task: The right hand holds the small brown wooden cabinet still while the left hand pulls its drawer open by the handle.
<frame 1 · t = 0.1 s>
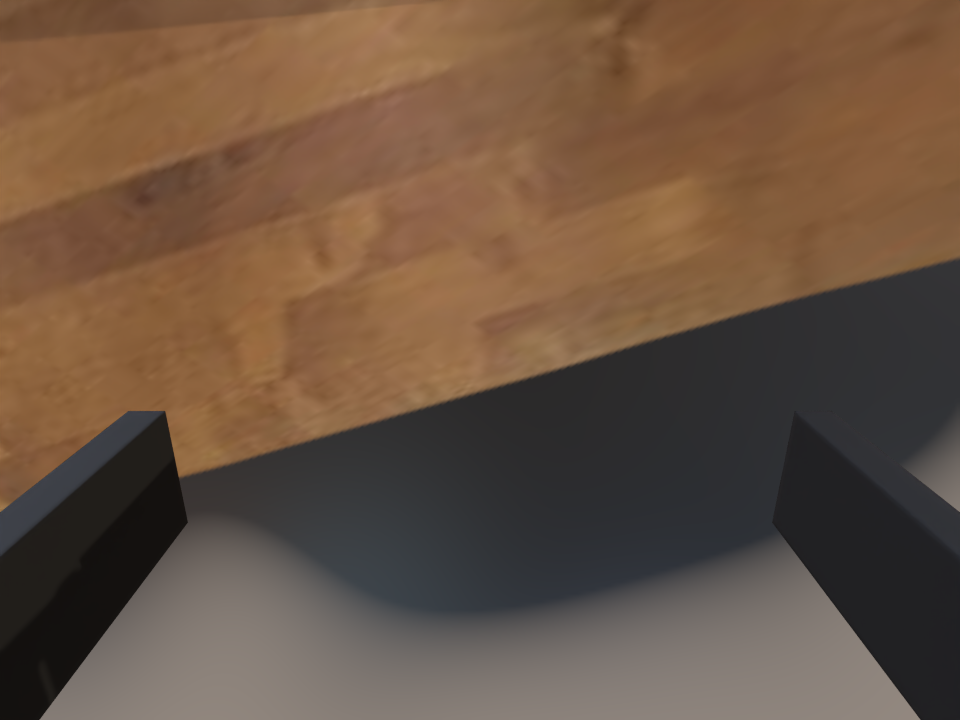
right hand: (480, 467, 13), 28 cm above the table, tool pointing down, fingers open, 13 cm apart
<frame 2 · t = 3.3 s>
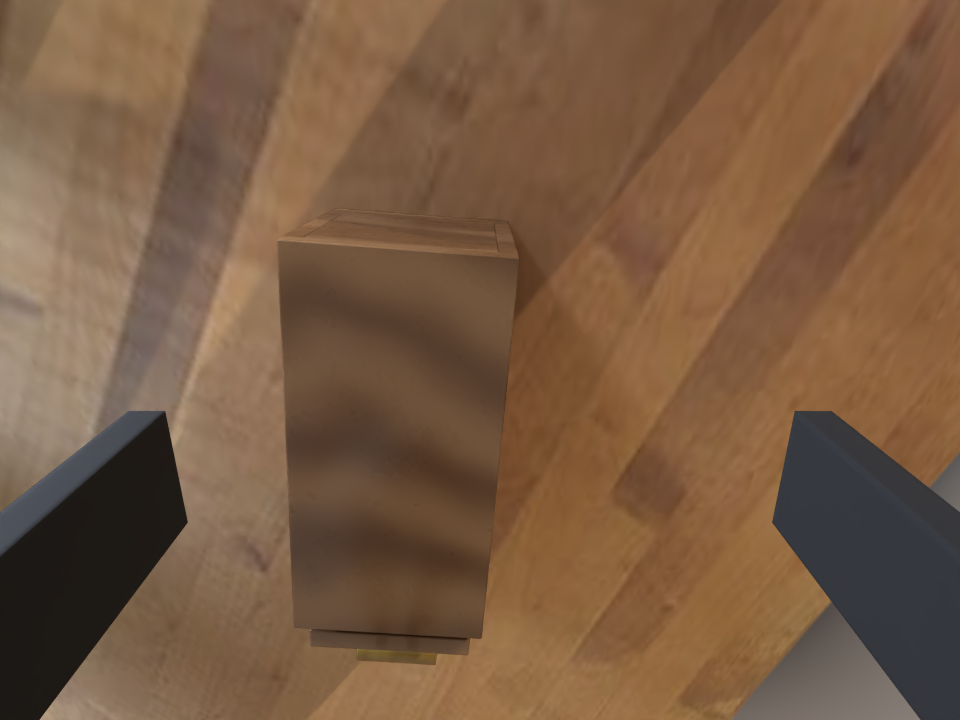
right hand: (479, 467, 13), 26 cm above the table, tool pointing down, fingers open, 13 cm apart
cabinet: (415, 379, 40), on the table
drawer: (402, 500, 37), point 6 cm above the table, slide at 1.1 cm
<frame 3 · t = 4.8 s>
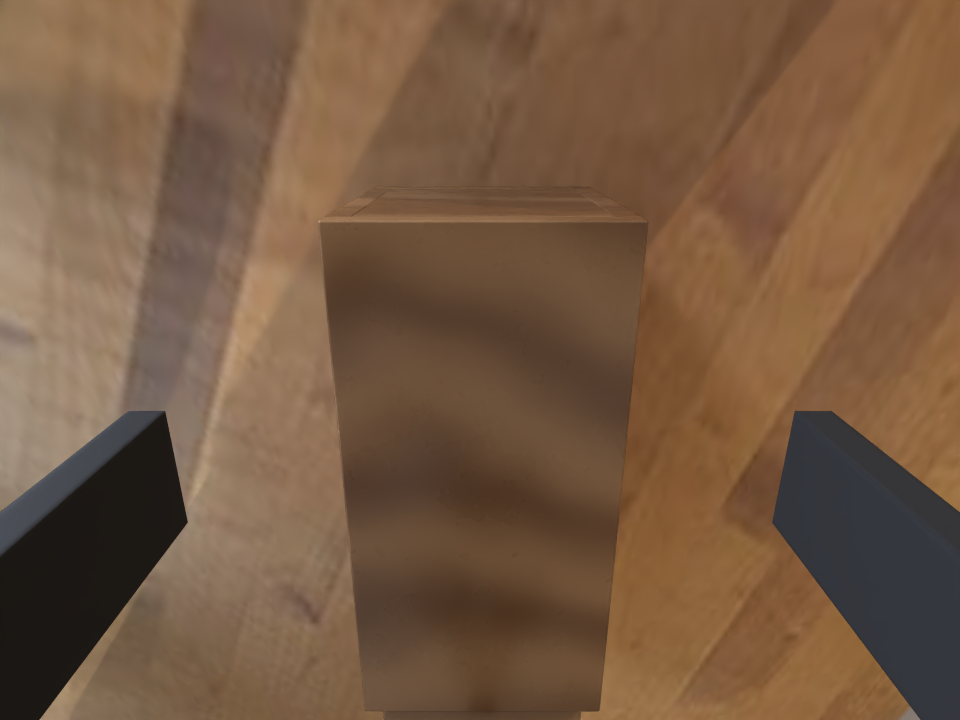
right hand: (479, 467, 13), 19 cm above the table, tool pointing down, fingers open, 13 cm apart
cabinet: (482, 390, 33), on the table
drawer: (482, 540, 30), point 6 cm above the table, slide at 1.1 cm
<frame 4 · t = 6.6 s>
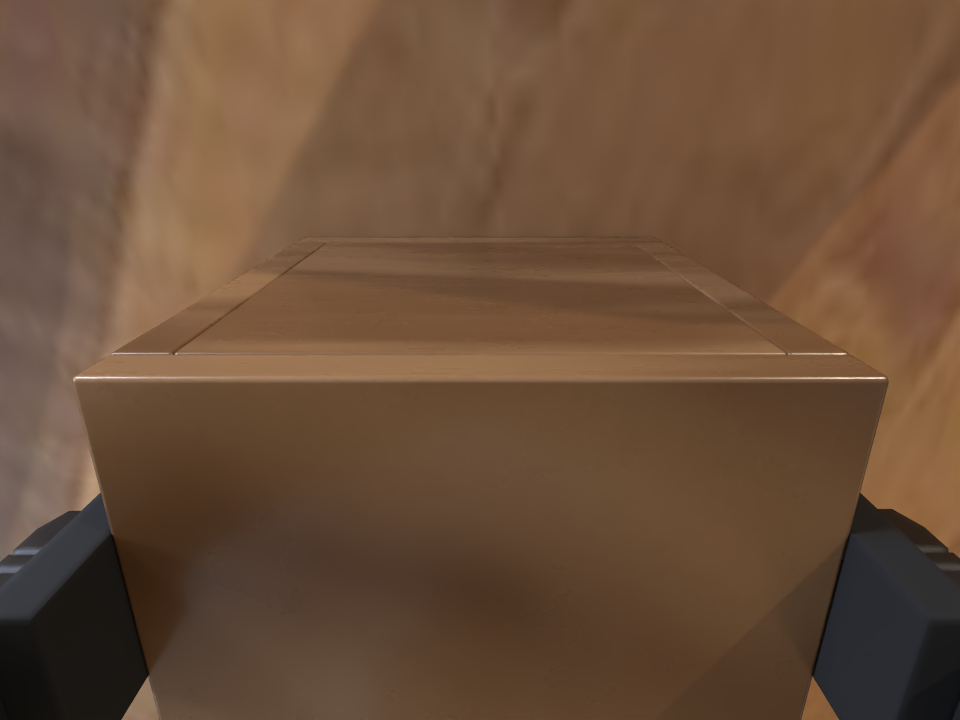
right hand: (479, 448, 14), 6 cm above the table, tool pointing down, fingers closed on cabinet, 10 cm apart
cabinet: (479, 538, 22), on the table, touching right hand
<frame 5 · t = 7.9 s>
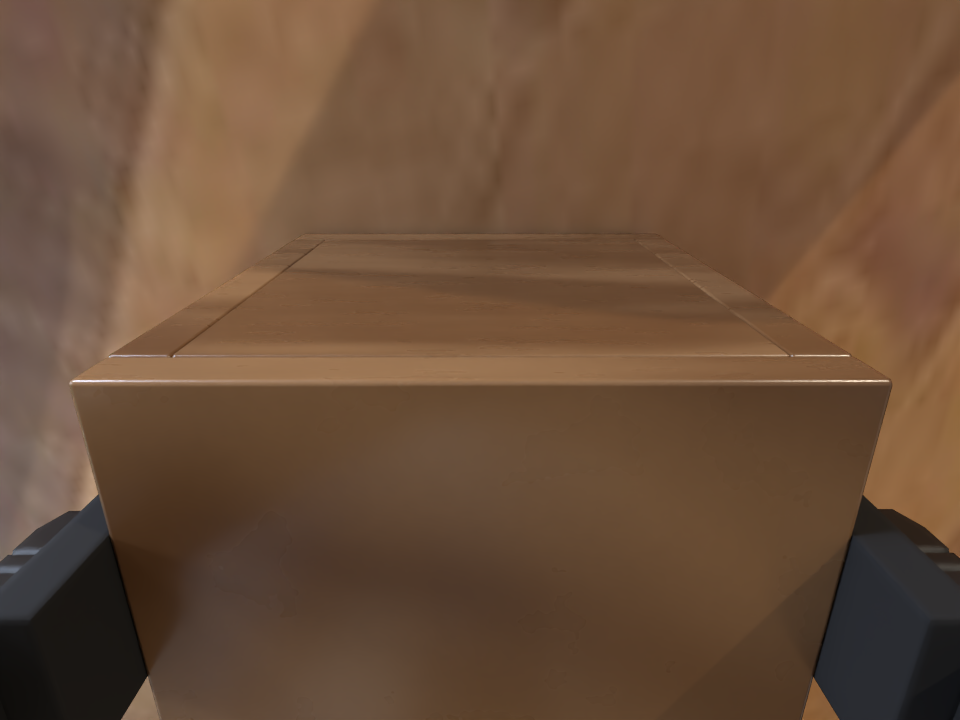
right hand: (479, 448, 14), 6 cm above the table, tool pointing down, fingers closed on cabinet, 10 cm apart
cabinet: (480, 534, 22), on the table, touching right hand
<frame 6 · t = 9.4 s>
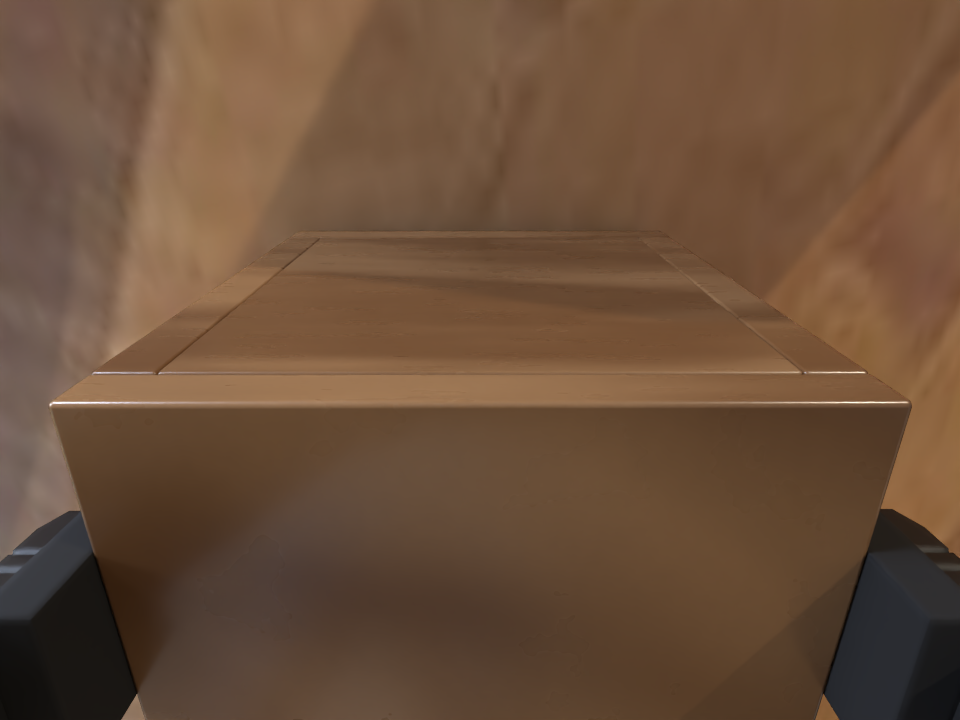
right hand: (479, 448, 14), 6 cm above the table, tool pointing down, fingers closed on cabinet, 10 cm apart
cabinet: (479, 534, 22), on the table, touching right hand
when the right hand's fingers open (6 cm above the table, at t = 10.9 s): cabinet stays where it is, on the table.
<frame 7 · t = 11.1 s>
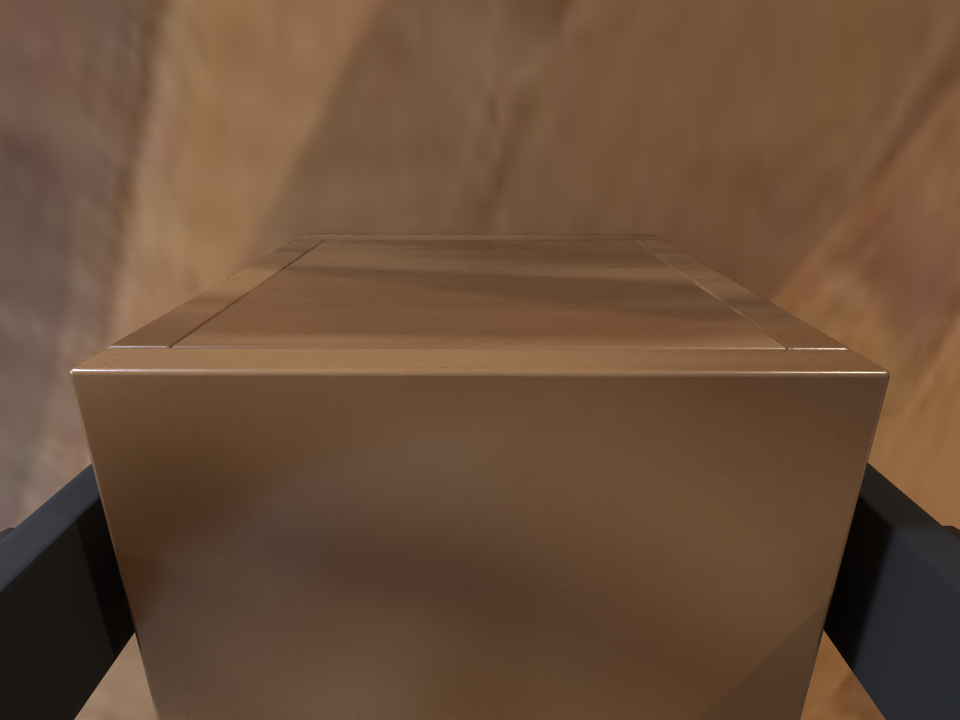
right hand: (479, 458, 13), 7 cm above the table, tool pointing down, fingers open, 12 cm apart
cabinet: (479, 536, 22), on the table
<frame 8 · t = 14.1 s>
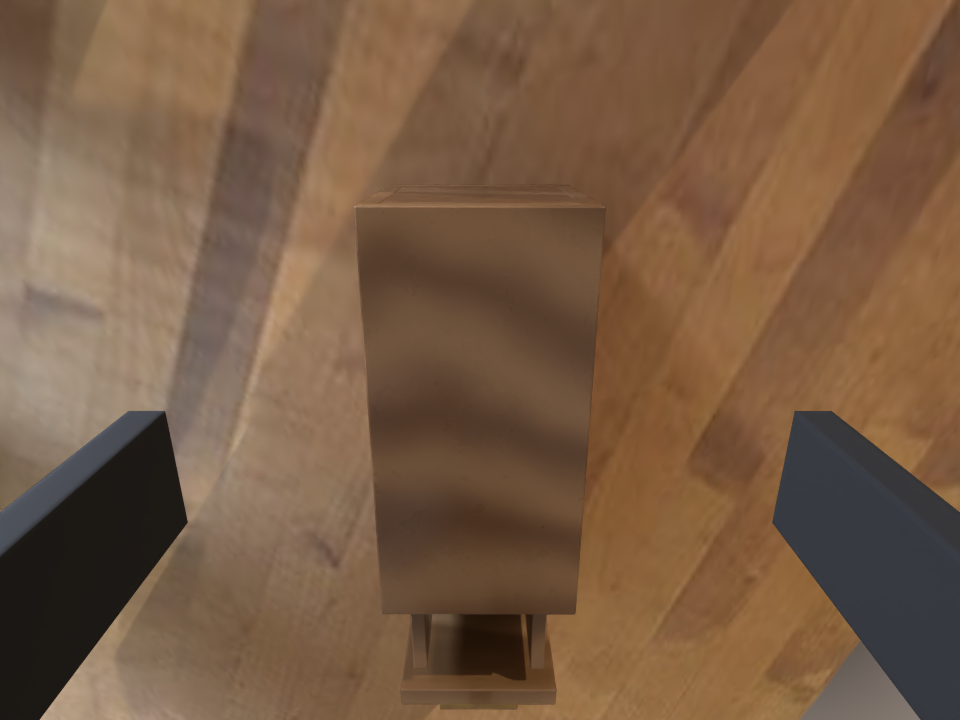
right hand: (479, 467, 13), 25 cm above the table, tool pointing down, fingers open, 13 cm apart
cabinet: (479, 357, 39), on the table
drawer: (478, 555, 38), point 5 cm above the table, slide at 6.6 cm
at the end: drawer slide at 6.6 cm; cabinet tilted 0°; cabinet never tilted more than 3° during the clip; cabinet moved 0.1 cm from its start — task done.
